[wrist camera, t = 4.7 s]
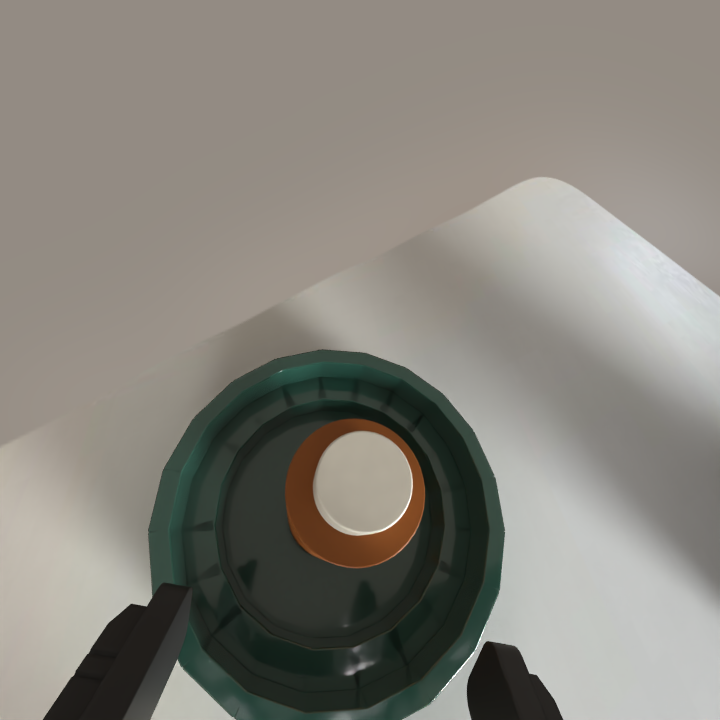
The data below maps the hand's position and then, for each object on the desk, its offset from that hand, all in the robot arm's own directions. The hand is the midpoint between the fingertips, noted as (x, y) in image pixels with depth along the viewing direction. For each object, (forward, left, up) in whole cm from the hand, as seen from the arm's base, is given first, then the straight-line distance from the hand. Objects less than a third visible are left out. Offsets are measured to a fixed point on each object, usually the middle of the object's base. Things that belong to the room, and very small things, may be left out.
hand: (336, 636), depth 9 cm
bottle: (-1, -4, -9) cm, 10 cm away
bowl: (-1, -4, -10) cm, 11 cm away
